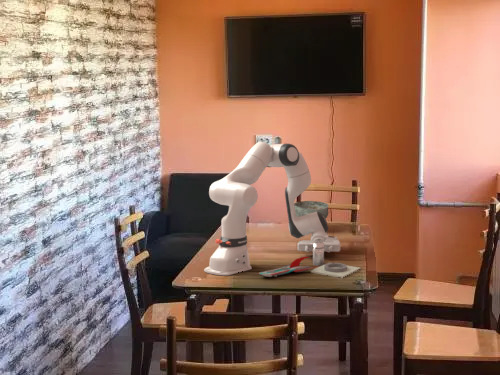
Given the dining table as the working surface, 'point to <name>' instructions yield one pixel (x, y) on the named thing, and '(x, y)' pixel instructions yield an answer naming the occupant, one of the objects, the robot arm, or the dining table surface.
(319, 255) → the piston
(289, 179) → the robot arm
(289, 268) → the toy spaceship
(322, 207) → the bowl
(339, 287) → the dining table surface
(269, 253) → the dining table surface
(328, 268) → the ring plate
